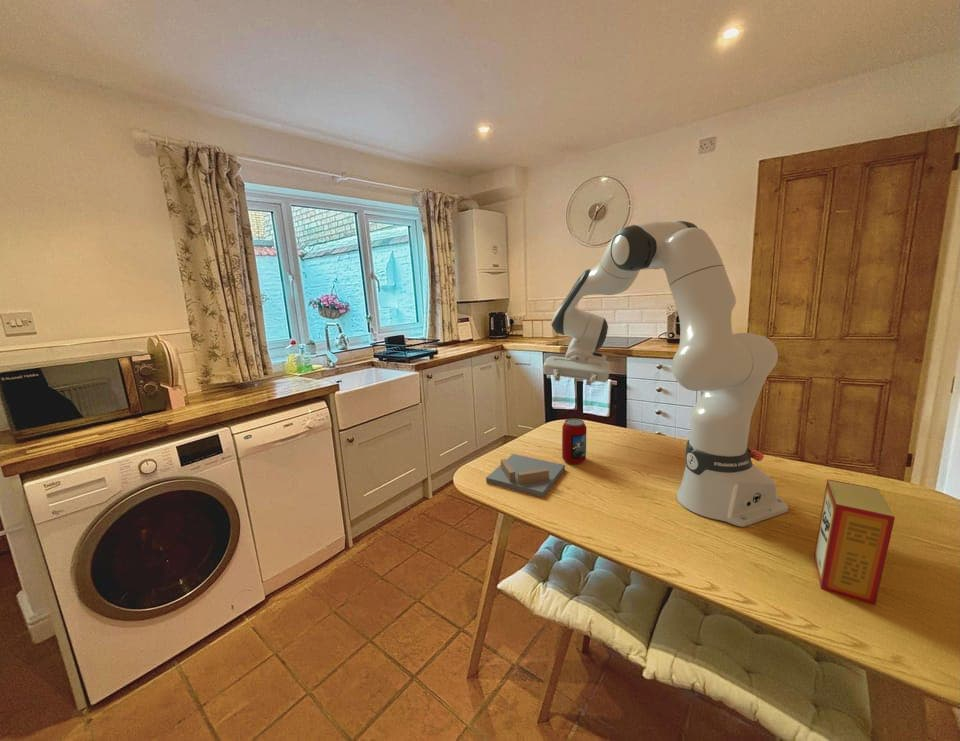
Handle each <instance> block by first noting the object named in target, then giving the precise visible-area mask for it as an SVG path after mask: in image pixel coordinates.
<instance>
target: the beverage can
mask: <svg viewBox="0 0 960 741" xmlns="http://www.w3.org/2000/svg"><path fill="white" fill-rule="evenodd" d="M561 429H562V431H561V432H562V434H561V437H562V438H561V443H562V444H561V446H562V447H561V448H562V449H561V453H562V454H561V455H562V456H561V457H562V460H564V461H565V462H567V463H568V464H573V465H578V464H582V463H583V462H584V461H586V460H587V458H586V457H587V426H586V424H585V421H584V420H583V419H581V418H573V417H572V418H567V419H565V420H564V423H563V424H562V428H561Z"/></svg>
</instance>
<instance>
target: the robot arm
mask: <svg viewBox="0 0 960 741" xmlns="http://www.w3.org/2000/svg"><path fill="white" fill-rule="evenodd" d="M660 269H663V271H664V273H665V276H666V280H667V282H668V285H669V289H670V291H671V294H672V295H671V296H672V298H673V301H674V304H675V308H676V311H677V315H678V320H679V332H680V336H679V344H678V349H677V350H676V352H675V354H674V356H673V359H672V362H671V364H672V365H671V370H672V374H673V376H674V378H675V381H677V383H679V385H680V386H681V387H683V388H685V389H686V390H689V391H694V392H702V394H701V396H700V398H699V399H698V400H697V401H696V403H695V404H694V405H693V407H692V410H691V414H690V415H691V416H690V425H689V426H690V427H689V436H688V438H689V439H688V440H687V441H686V448H685V468H684V472H683V476H682V480H681V482H680V484H679V485H680V486H679V488H678V490H677V492H676V499H677V501H678V502H679V504H680V505H681V506H683V507H684V508H686V509H687V510H688V511H691V512H693V513H694V514H696V515H699V516H702V517H705V518H708V519H712V520H718V521H722V522H726V523H728V524H732V525H734V526H736V527H740V528H741V527H743V528H744V527H748V526H751V525H753V524H756V523H759V522H762V521H764V520H767V519H772V518H774V517H776V516H780V515H782V514H785V513H787V512H789V506H788V504H787V503H786V502H785V501H784V499H782V498H781V497H780V496H779V495H777V486H776V483H775V481H774V480H773V479H772V478H771V477H770V476H769V475H768V474H767V473H765V471H763V470H761V469H760V468H759V467H757V466H756V465H755V464H753V461H752V459H753V460H755V461H757V462H761V461H762V460H763V459H764V453H763V452H761V451H758V450H756V449H752V450H751V449H750V448H749V447H748V442H749V432H750V427H751V420H752V416H753V412H754V409H755V406H756V404H757V402H758V398H759V396H760V394H761V392H762V388H763V387H764V384H765V382H766V380H767V377H768V376H769V375H770V373H771V372H772V370H773V369H774V368H775V367H776V365H777V362H778V360H779V359H778V358H779V353H778V350H777V347H776V345H775V344H774V342H773V341H772V340H771V339H769V338H768V337H766V336H764V335H759V334H757V333H756V334H755V333H751V332H737V333H733V328H732V327H733V326H732V313H733V310H734V308H735V306H736V302H737V299H736V295H735V292H734V290H733V286H732V284H731V281H730V279H729V276H728V274H727V270H726V267H725V265H724V262H723V260H722V258H721V255H720V253H719V251H718V249H717V247H716V245H715V244H714V242H713V241H712V239H711V237H710V236H709V234H708V232H706V231H705V230H704V229H702V228H699V227H698V226H697V225H696V224H694V223H693V222H689V221H684V220H677V221H661V222H660V221H653V222H652V221H651V222H646V223H645V222H644V223H642V224H637V225H636V224H631V225H629V226H626V227H623V228H621V229H619V230H618V231H617V232H616V233H615V234H614V235H613V237H612V238H611V239H610V241H609V243H608V245H607V246H606V248H605V250H604V251H603V254H602V256H601V258H600V260H599V262H598V264H596V265H595V266H593V268H591V269H590V268H589V269H585V270H583V272H582V274H581V275H580V276H579V277H578V278H577V280H576V282H575V283H574V285H573V286H572V287H571V289H570V291H569V293H568V294H567V295H566V297H565V298H564V300H563V301H562V303H561V305H559V306H558V308H557V309H556V310H555V311H554V314H553V316H552V319H551V327H552V330H554V332H555V333H556V334H559V335H562V336H567V337H569V338H572V339H571V340H570V342H569V344H568V347H567V350H566V353H565V356H556V355H551V356H548V357H546V358H545V360H544V363H542V364H543V365H542V373H543V374H544V375H547V376H552V377H553V378H554V381H555V382H560V380H561V377H563V378H570V379H577V380H585V381H586V383H585V384H586V386H592V384H594V383H595V382H600V383H607V382H608V381H609V376H610V365H609V363H608V361H607V355H605V354H603V353H599V352H596V351H598V350H599V349H601V348H602V347H603V345H604V343H605V341H606V338H607V335H608V330H609V324H608V321H607V319H606V318H605V317H602V316H599V315H597V314H594V313H590V312H588V311H585V310H582V309H579V308H578V307H577V305H578V304H579V302H580V300H581V299H582V298H583V297H586V296H591V295H602V296H614V295H615V296H616V295H618V294H619V295H620V294H621V293H623V292H625V291H628V290H629V289H630V287H632V285H633V284H634V282H635V280H636V279H637V277H638V275H639V273H640V271H641V270H642V271H643V270H644V271H645V270H660Z"/></svg>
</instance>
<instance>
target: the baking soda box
mask: <svg viewBox="0 0 960 741" xmlns="http://www.w3.org/2000/svg"><path fill="white" fill-rule="evenodd" d="M895 519H896V518H895V515H894V514H893V512H892V510H891V508H890V507H889V505H888V503H887V501H886V500H885V498H884V496H883V494H882V493H881V490H880V489H879V488H876V487H872V486H871V487H870V486H867V485H866V486H864V485H859V484H855V483H849V482H845V481H839V480H833V479H829V478H827V479H826V484H825V491H824V497H823V502H822V506H821V513H820V518H819V523H818V531H817V534H816V535H817V537H816V542H815V546H814V547H815V548H814V554H813V557H814V561H815V567H816V572H817V576H818V580H819V586H820V589H821V590H823V591H826V592H830V593H834V594H837V595H841V596H843V597H847V598H850V599H853V600H857V601H859V602H863V603H866V604H869V605H873V606H876V604H877V598H878V595H879V590H880V586H881V580H882V577H883V572H884V567H885V564H886V559H887V558H886V557H887V556H888V555H887V554H888V551H889V550H888V549H889V545H890V543H891V536H892V532H893V527H894V524H895Z"/></svg>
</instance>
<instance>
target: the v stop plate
mask: <svg viewBox="0 0 960 741" xmlns="http://www.w3.org/2000/svg"><path fill="white" fill-rule="evenodd" d="M565 467H566V466H565V464H562V463H558V462H553V461H548V460H544V459H539V458H534V457H529V456H525V455H521V454H520V455H519V454H515V453H513V454H511V455H510V456H509V457H508V458H503V459H500V465H499V466H497V467H496V468H495V469H494V470H493V471H492V472H490V473H489V474H488V475H487V476H486V477H485V482H487V483H486V484H489V483H491V484H490V485H493V484H494V486H497V485H498V487H501V488H504V487H505V489H508V488H509V490H512V489H513V490H512V491H516V492H520V493H524V494H528V495H532V496H536V497H539V498H541V499H542V498H544V497H545V496H546V494H547V493H548V492H549V490H550V489H551V488H552V487H553V485H554V484H555V483H556V481H557V480H558V479H559V478H560V477H561V475H562V474H563V472H564V471H565V470H566V468H565Z"/></svg>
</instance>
